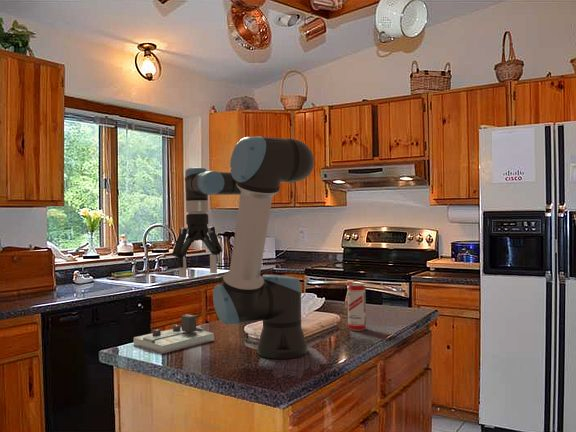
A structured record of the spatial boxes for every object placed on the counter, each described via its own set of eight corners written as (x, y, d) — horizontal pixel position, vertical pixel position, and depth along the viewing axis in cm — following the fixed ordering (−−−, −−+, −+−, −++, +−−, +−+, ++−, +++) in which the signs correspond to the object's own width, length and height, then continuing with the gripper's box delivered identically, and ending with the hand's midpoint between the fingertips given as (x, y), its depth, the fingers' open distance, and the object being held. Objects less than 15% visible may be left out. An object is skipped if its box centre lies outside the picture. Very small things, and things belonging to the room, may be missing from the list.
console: (213, 340, 173) (213, 328, 173) (162, 353, 158) (162, 340, 158) (184, 333, 184) (184, 322, 183) (133, 344, 169) (133, 332, 169)
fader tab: (196, 330, 175) (196, 315, 175) (189, 332, 173) (188, 316, 173) (188, 329, 178) (188, 313, 178) (181, 330, 175) (181, 315, 175)
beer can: (364, 332, 181) (363, 286, 181) (346, 330, 184) (345, 285, 183) (367, 328, 187) (366, 283, 187) (350, 327, 189) (349, 282, 189)
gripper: (216, 213, 192) (218, 271, 192) (160, 214, 172) (161, 278, 173) (231, 212, 187) (232, 272, 187) (174, 213, 168) (176, 279, 168)
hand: (198, 275), depth 180 cm, fingers open, 13 cm apart
